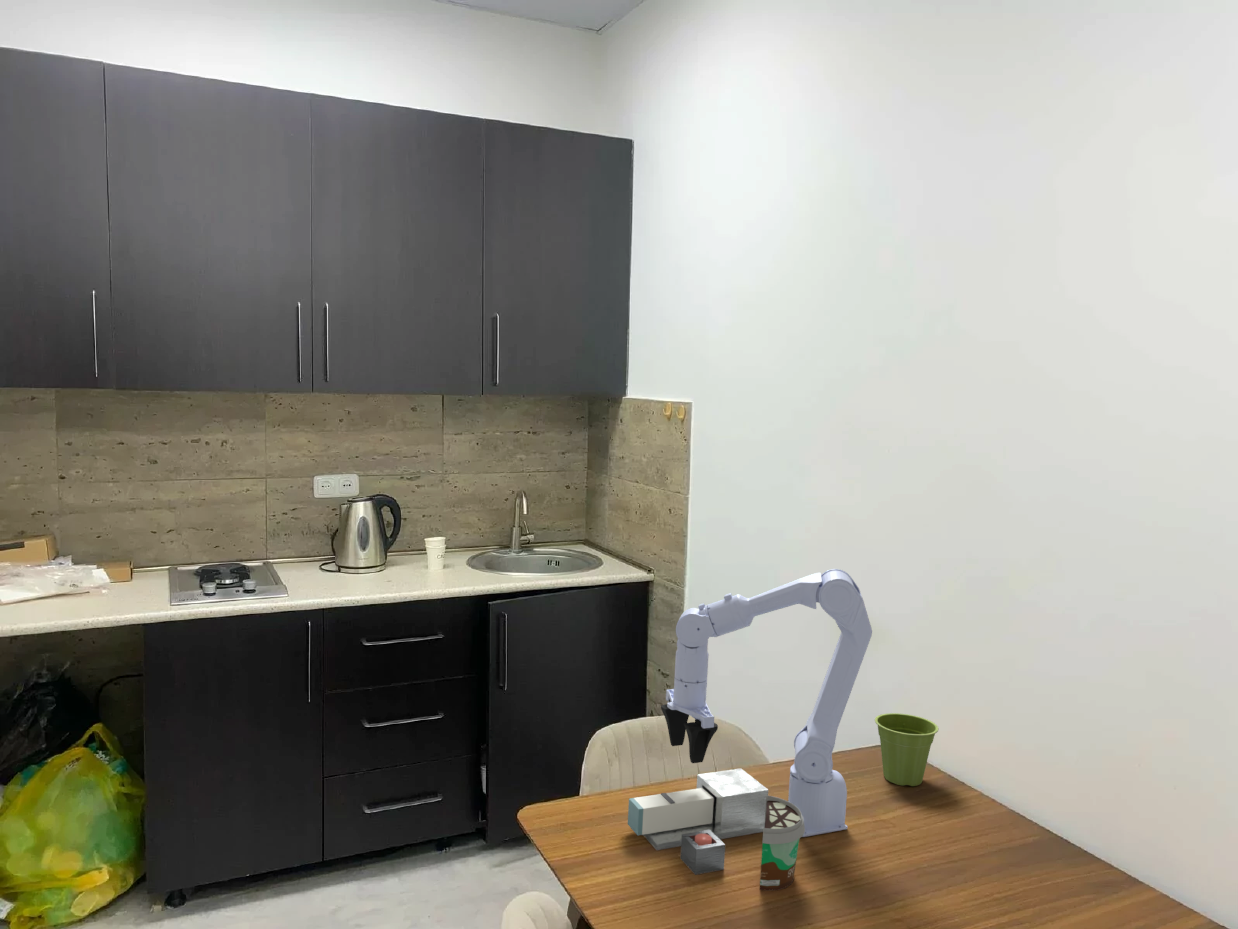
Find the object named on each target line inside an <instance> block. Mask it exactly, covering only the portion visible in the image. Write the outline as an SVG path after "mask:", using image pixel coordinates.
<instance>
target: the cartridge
mask: <svg viewBox="0 0 1238 929" xmlns="http://www.w3.org/2000/svg"><path fill="white" fill-rule="evenodd" d="M713 803H714V798H713V797H712V796H711V795H710V794H709V793H708V792H707V791H705V790H704V789H703V788H698V789H697V788H693V789H692V788H691V789H685V790H677V791H672V792H662V793H658V794H657V793H656V794H652V795H651V794H650V795H645V796H637V797H632V798H628V809H627V810H628V814H627V825H628V827H630V829H631V830H632V831H633V832H634V833H635V834H636V835H637V836H643V835H644V834H650V833H656V832H662V831H668V830H674V829H680V828H686V827H692V826H699V825H705V824H711V823H712V820H713Z"/></svg>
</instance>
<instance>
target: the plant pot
mask: <svg viewBox="0 0 1238 929" xmlns="http://www.w3.org/2000/svg"><path fill="white" fill-rule="evenodd" d="M874 722H875V724H876V725H877V730H878V736H879V740H880V741H879V742H880V752H881V763H882V771H883V777H884V779H885V780H886V781H888V782H889V783H891V784H892V783H893V784H895V785H898V786H910V787H916V786H919V785H921V784H922V783H923V779H924V777H925V776H924V775H925V771H926V766H927V763H928V758H929V754H930V750H931V746H932V744H933V742H934V739H935V736H936V735H935V734H937V733H938V732H939V726H938V725H937V724H936V723H935V722H933V721H931V720H929V719H927V718H924V717H921V716H917V715H913V714H906V713H898V712H894V713H892V712H891V713H883V714H879V715H877V716H875V718H874Z"/></svg>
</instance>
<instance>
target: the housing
mask: <svg viewBox="0 0 1238 929" xmlns="http://www.w3.org/2000/svg"><path fill="white" fill-rule="evenodd" d="M698 788H703V789H704V790H705V791H707V792H708V793H709V794H710V795H711V796H712V797H713V798H714V803H713V820H712V823H711V824H705V825H699V826H692V827H686V828H680V829H674V830H668V831H662V832H656V833H650V834H644V835H642V836H643V837H644V838H645V839H646V840H647V841H648V843H650V845H651V846H652V847H653V848H654V849H655V851H661V850H666V849H672V848H676V847H677V848H678V847H681V838H682V834H686V833H692V832H698V831H704V830H711V831H712V832H713V833H714V834H715V835H716V836H717V837H718V838H719V839H720V840H723V839H729V838H735V837H741V836H746V835H752V834H758V833H763V828H764V824H765V809H766V795H768V796H769V788H767V787H766V786H765V785H763V784H762V783H760V782H759V781H758V780H757V779H755V778H754V777H753V776H752V775H750V773H748V772H747V771H745V770H744V769H742V768H741V767H740V768H735V769H726V770H719V771H713V772H706V773H705V772H704V773H699V774H697V775H696V789H698Z"/></svg>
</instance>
